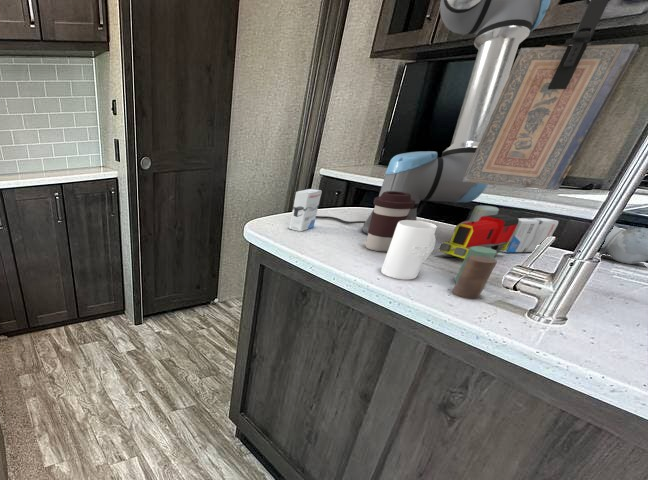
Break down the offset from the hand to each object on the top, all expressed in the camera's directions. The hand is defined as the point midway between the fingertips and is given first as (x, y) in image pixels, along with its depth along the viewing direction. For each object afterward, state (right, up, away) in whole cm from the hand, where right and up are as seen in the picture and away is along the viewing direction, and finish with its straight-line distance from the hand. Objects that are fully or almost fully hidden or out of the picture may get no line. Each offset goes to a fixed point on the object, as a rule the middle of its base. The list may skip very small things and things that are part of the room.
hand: (556, 89), depth 78 cm
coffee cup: (-13, -20, +38) cm, 45 cm away
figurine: (+44, -19, +31) cm, 57 cm away
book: (-1, -15, +9) cm, 18 cm away
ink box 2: (+21, -17, +33) cm, 43 cm away
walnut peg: (-10, -39, +10) cm, 41 cm away
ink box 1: (-29, -7, +56) cm, 64 cm away
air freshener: (+18, -16, +43) cm, 49 cm away
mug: (-16, -31, +21) cm, 41 cm away
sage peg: (-5, -35, +15) cm, 39 cm away
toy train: (+9, -24, +32) cm, 41 cm away
